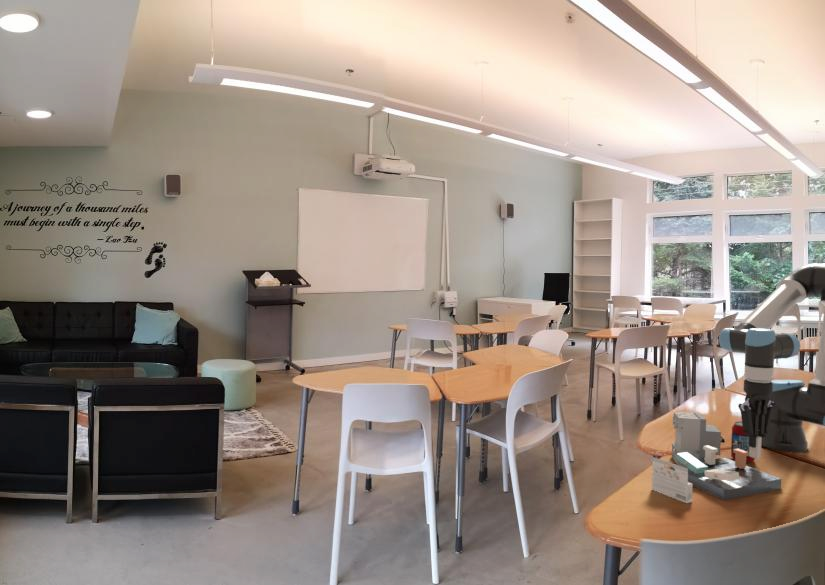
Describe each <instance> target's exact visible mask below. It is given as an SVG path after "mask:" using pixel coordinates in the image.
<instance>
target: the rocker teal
mask: <svg viewBox="0 0 825 585" xmlns="http://www.w3.org/2000/svg"><path fill="white" fill-rule="evenodd" d="M676 459H677V460H678V461H680V462H681V463H682V464H684V465H685V466H686V467H688V468H689V469H690V470H692V471H693V472H694V473H696V474H698V473H704V471H707V469H708V466H706V465H705V464H704V463H702V462H701V461H699V460H698V459H696V458H695V457H694V456H692V455H691V454H689V453H688V452H683V453H677V455H676Z"/></svg>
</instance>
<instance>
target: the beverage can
mask: <svg viewBox="0 0 825 585" xmlns="http://www.w3.org/2000/svg"><path fill="white" fill-rule="evenodd" d="M730 444H731V445H730V446H731V449H730V450H731V451H730V457H731V458H733V459H734V460H735V454H736V453H733V449H741V450H744V451H747V452H749V435H746V434H744V432H743V425H742V421H735V422H734V424H733V425H732V426H731V443H730ZM753 461H755V458H753V457H750V456H746V464H747V463H748V464H749V463H752V462H753Z"/></svg>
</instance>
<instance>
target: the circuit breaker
mask: <svg viewBox="0 0 825 585" xmlns="http://www.w3.org/2000/svg"><path fill="white" fill-rule="evenodd" d="M672 425H673V429H674V430H675V431H674V432H675V434H674V435H675V436H674V442H673V441H672V443H671V457H672V459H673V460H674V461H675V463H676V465H678V464H682V463H681V462H680V461H678V460H677V459H676V455H677V453H683V452H688V453H689V454H691V455H692V456H694V457H695V458H696V459H698V460H699V461H705V450H704V449H703V446H706V445H709V446H712V447H714V448H717V449H718V452H716V456H720V455H721V444H725V442H726V441H725V440H726V439H725V438H723V436H722V431H720V430H719V429H718V428H717V427H716V426H715V425H713V424H707V419H706V418H705V417H704V416H703V415H702V414H701V413H699V412H686V411H685V412H684V411H683V412H682V411H673V416H672Z"/></svg>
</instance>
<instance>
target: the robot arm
mask: <svg viewBox="0 0 825 585" xmlns="http://www.w3.org/2000/svg"><path fill="white" fill-rule="evenodd" d="M809 298H820V300H819V302H820V304H821V305H822V306H823V307H824V308H825V263H819V262H817V263H815V262H814V263H810V264H806V265H803V266H801V267H799V268H796V269H795V270H793V271H791V272H790V273H788V274H787V275H785V276H784V277H783V278H781V280H779V281H778V283H777V284H776V289H775V290H773V291H772V292H771V293H770V294H769V296H767V297H766V298H765V299H764V300H763V301H762V302H761V303H760V304H759V305H758V306H757V307H756V308H755V309H754V310H752V311H751V313H749V314H748V315H747V316H746V317H745V318H744V319H743V320H742V321H741V322H740V323H739V324H737V325H736V327H735V328H733V327H725V328H723V329H722V330H721V332H720V333H719V335H718V342H719V345H720V347H721V348H722V349H723V350H724V351H725V350H726V351H730V352H733V353H742V354H744V358H745V359H744V372H743V373H744V375H743V376H744V380H743V392H745V397H744V402H743V403H738V409H739V411H740V417H741V422H742V425H743V432H744V434H746V435H749V456H750V457H753V458H755V459H756V460H759V459H760V460H761V459H762V458H761V457H762V447H764V448H767V449H771V450H776V451H779V452H780V451H781V452H790V453H800V452H806V451H807V450H808V447H809V446H808V443H809V442H808V440H807V437H806V434H805V431H804V430H805V429H804V428H803V422H804V423H805V422H806V423H808V424H809V423H810V424H813V425H818V426H823V427H825V309H824V311H823V318H822V325H821V331H820V333H821V334H820V339H819V347H818V354H817V360H816V367H815V374H814V378H813V379H811V380H809V381H808V384H807V386H806V384H805V382H804V381H803V380H798V379H774V374H775V372H774V370H775V367H774V365H775V364H774V363H775V360H780V359H789V358H793V357H795V356H797V354H799V352H800V350H801V343H800V339H799V338H798V337H797V336H796V335H794V334H792V333H787V332H786V333H785V332H780V333H776V332H775V330H773V329H771V328H772V327H773V326H774V325H775V324H777V322H778V321H780V319H782V318H783V317H784V316H785V315H786V314H787V313H788V312H789V311H790V310H791V309H792V308H793V307H794V306H796V304H799V303H801V302H803V301H805V300H806V299H809Z"/></svg>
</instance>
